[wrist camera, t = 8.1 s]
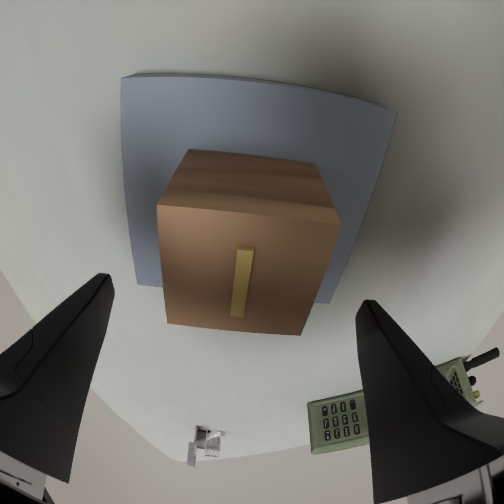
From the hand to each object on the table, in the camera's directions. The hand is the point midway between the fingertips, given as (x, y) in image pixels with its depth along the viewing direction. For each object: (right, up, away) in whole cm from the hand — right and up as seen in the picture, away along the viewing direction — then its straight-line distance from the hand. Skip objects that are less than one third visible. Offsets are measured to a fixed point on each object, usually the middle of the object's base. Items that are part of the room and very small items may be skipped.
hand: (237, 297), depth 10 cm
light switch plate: (0, +5, +6) cm, 7 cm away
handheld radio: (+19, -13, +20) cm, 30 cm away
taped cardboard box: (0, +4, +4) cm, 6 cm away
